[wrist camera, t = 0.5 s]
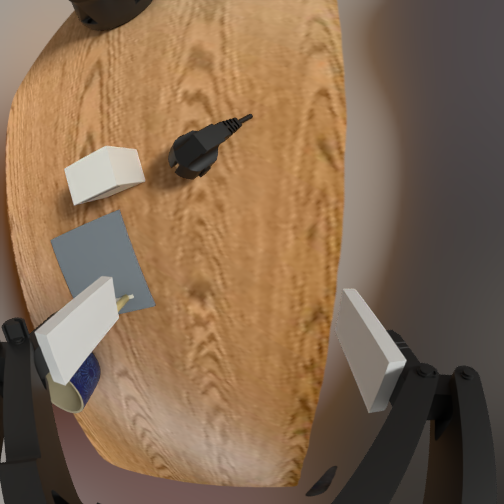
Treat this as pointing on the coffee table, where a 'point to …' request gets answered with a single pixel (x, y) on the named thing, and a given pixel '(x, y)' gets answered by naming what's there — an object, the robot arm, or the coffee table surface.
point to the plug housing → (104, 174)
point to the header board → (103, 261)
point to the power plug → (201, 147)
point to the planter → (76, 386)
